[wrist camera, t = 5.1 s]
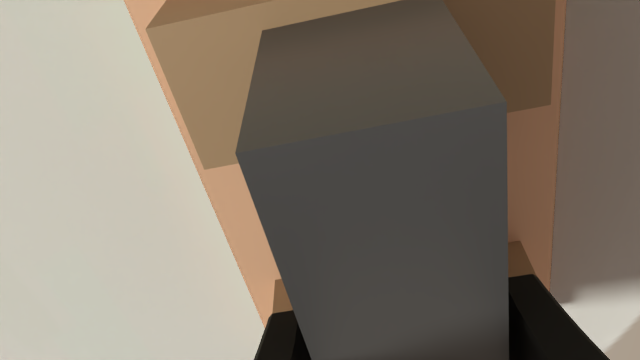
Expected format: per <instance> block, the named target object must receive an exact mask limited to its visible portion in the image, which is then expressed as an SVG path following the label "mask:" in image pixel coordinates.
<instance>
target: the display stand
mask: <svg viewBox="0 0 640 360" xmlns="http://www.w3.org/2000/svg"><path fill="white" fill-rule="evenodd" d="M396 1H400V0H124V2H125V4H126V6H127V9H128V11H129V13H130V16H131V18H132V20H133V23H134V25H135V27H136V30H137V32H138V34H139V37H140V39H141V41H142V44H143V46H144V48H145V50H146V53H147V55H148V57H149V60H150V62H151V64H152V67H153V69H154V71H155V74H156V76H157V78H158V81H159V83H160V85H161V88H162V90H163V92H164V95H165V97H166V99H167V102H168V104H169V106H170V109H171V111H172V113H173V116H174V118H175V120H176V123H177V125H178V127H179V129H180V132H181V134H182V136H183V139H184V141H185V143H186V146H187V148H188V150H189V153H190V155H191V157H192V160H193V162H194V164H195V167H196V169H197V171H198V174H199V176H200V178H201V181H202V183H203V185H204V188H205V190H206V192H207V195H208V197H209V199H210V202H211V204H212V206H213V208H214V211H215V213H216V215H217V218H218V220H219V222H220V225H221V227H222V229H223V232H224V234H225V236H226V239H227V241H228V243H229V246H230V248H231V250H232V253H233V255H234V257H235V260H236V262H237V264H238V267H239V269H240V271H241V274H242V276H243V278H244V281H245V283H246V285H247V287H248V290H249V292H250V294H251V297H252V299H253V301H254V304H255V306H256V308H257V311H258V313H259V315H260V318H261V320H262V322H263V325H264V327H266V324H267V321H268V318H269V317H270V315H271V314H272V313H278V312H284V311H291V310H293V308H292V306H291V303H290V300H289V297H288V295H287V292H286V289H285V287H284V284H283V281H282V279H281V276H280V273H279V270H278V268H277V265H276V262H275V260H274V257H273V254H272V252H271V249H270V246H269V243H268V241H267V238H266V235H265V233H264V230H263V227H262V225H261V222H260V219H259V216H258V214H257V211H256V208H255V206H254V203H253V200H252V198H251V195H250V192H249V189H248V187H247V184H246V181H245V179H244V176H243V173H242V170H241V168H240V165H239V162H238V160H237V157H236V154H235V152H236V147H237V142H238V138H239V133H240V129H241V124H242V120H243V115H244V111H245V106H246V102H247V97H248V92H249V88H250V83H251V79H252V74H253V70H254V65H255V61H256V56H257V52H258V47H259V42H260V38H261V33H262V30H267V29H271V28H276V27H280V26H285V25H290V24H294V23H299V22H304V21H308V20H313V19H317V18H322V17H327V16H331V15H336V14H340V13H345V12H350V11H354V10H359V9H363V8H368V7H373V6H377V5H382V4H387V3H391V2H396ZM443 2H444V3H445V5H446V6H447V8H448V10H449V11H450V13H451V14H452V16H453V18H454V19H455V21H456V22H457V24H458V25H459V27H460V29H461V30H462V32H463V33H464V35H465V37H466V38H467V40H468V41H469V43H470V44H471V46H472V48H473V49H474V51H475V52H476V54H477V55H478V57H479V59H480V60H481V62H482V63H483V65H484V67H485V68H486V70H487V71H488V73H489V74H490V76H491V78H492V79H493V81H494V82H495V84H496V86H497V87H498V89H499V90H500V92H501V93H502V95H503V97H504V98H505V100H506V101H507V191H508V277H514V276H521V275H528V274H534V275H535V276H537V277H538V278H539V279H540V281H541V282H542V283H543V285H544V286H545V287H546V288H547V290H548V291H549V292H550V276H551V259H552V241H553V224H554V207H555V189H556V172H557V155H558V137H559V120H560V103H561V85H562V68H563V51H564V33H565V16H566V0H443Z"/></svg>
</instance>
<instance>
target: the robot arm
mask: <svg viewBox="0 0 640 360" xmlns="http://www.w3.org/2000/svg"><path fill="white" fill-rule="evenodd" d="M508 300H509V360H610V359H609V358H608V357H607V356H606V355H605V354H604V353H603V352H602V351H601V350H600V349H599V348H598V347H597V346H596V345H595V344H594V343H593V342H592V341H591V340H590V338H589V337H588V336H587V335H586V334H585V333H584V332H583V331H582V330H581V329H580V327H579V326H578V325H577V324H576V323H575V322H574V321H573V319H572V318H571V317H570V316H569V315H568V314H567V313H566V311H565V310H564V309H563V308H562V307H561V306H560V304H559V303H558V302H557V301H556V300H555V298H554V297H553V296H552V295H551V293H550V292H549V291H548V290H547V288H546V287H545V286H544V285H543V283H542V282H541V281H540V279H539V278H538V277H537V276H535V275H534V274H528V275H521V276H514V277H508ZM254 360H311V357H310V354H309V352H308V349H307V346H306V343H305V341H304V338H303V335H302V333H301V330H300V327H299V325H298V322H297V319H296V316H295V314H294V311H293V310H291V311H284V312H278V313H272V314H271V315H270V317H269V318H268V321H267V324H266V327H265V330H264V333H263V336H262V339H261V342H260V345H259V348H258V350H257V353H256V356H255V358H254Z"/></svg>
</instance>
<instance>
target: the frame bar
mask: <svg viewBox="0 0 640 360" xmlns="http://www.w3.org/2000/svg"><path fill="white" fill-rule="evenodd" d="M235 154H236V157H237V160H238V162H239V165H240V168H241V170H242V173H243V176H244V179H245V181H246V184H247V187H248V189H249V192H250V195H251V198H252V200H253V203H254V206H255V208H256V211H257V214H258V216H259V219H260V222H261V225H262V227H263V230H264V233H265V235H266V238H267V241H268V243H269V246H270V249H271V252H272V254H273V257H274V260H275V262H276V265H277V268H278V270H279V273H280V276H281V279H282V281H283V284H284V287H285V289H286V292H287V295H288V297H289V300H290V303H291V306H292V308H293V311H294V314H295V316H296V319H297V322H298V325H299V327H300V330H301V333H302V335H303V338H304V341H305V343H306V346H307V349H308V352H309V354H310V357H311V360H509V300H508V191H507V101H506V100H505V98H504V97H503V95H502V93H501V92H500V90H499V89H498V87H497V86H496V84H495V82H494V81H493V79H492V78H491V76H490V74H489V73H488V71H487V70H486V68H485V67H484V65H483V63H482V62H481V60H480V59H479V57H478V55H477V54H476V52H475V51H474V49H473V48H472V46H471V44H470V43H469V41H468V40H467V38H466V37H465V35H464V33H463V32H462V30H461V29H460V27H459V25H458V24H457V22H456V21H455V19H454V18H453V16H452V14H451V13H450V11H449V10H448V8H447V6H446V5H445V3H444V2H443V0H400V1H396V2H391V3H387V4H382V5H377V6H373V7H368V8H363V9H359V10H354V11H350V12H345V13H340V14H336V15H331V16H327V17H322V18H317V19H313V20H308V21H304V22H299V23H294V24H290V25H285V26H280V27H276V28H271V29H267V30H262V33H261V38H260V42H259V47H258V52H257V56H256V61H255V65H254V70H253V74H252V79H251V83H250V88H249V92H248V97H247V102H246V106H245V111H244V115H243V120H242V124H241V129H240V133H239V138H238V142H237V147H236V152H235Z"/></svg>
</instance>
